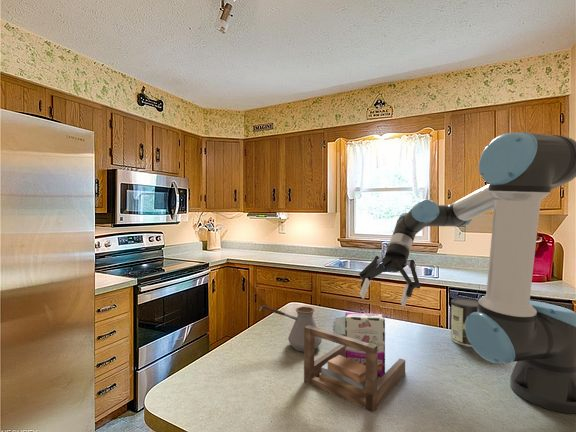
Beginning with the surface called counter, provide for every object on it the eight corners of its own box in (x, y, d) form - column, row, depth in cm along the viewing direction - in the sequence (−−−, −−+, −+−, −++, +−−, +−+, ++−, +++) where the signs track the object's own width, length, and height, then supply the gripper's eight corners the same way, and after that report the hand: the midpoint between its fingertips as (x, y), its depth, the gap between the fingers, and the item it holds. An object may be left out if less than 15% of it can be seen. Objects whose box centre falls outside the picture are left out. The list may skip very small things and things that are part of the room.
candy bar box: (382, 368, 92) (383, 313, 92) (385, 377, 87) (385, 319, 87) (344, 365, 94) (345, 311, 94) (344, 373, 89) (345, 316, 89)
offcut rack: (405, 374, 89) (406, 322, 89) (373, 412, 72) (373, 348, 72) (344, 353, 102) (344, 307, 102) (303, 381, 85) (304, 327, 85)
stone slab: (334, 341, 115) (361, 339, 114) (333, 334, 115) (360, 332, 114) (332, 321, 137) (355, 319, 136) (331, 314, 137) (354, 312, 136)
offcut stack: (377, 389, 81) (377, 366, 81) (366, 402, 76) (366, 377, 76) (331, 371, 90) (331, 351, 90) (318, 381, 85) (318, 359, 85)
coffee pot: (317, 338, 113) (317, 297, 113) (325, 353, 102) (326, 307, 101) (258, 342, 110) (258, 300, 110) (260, 357, 99) (260, 310, 98)
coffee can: (487, 341, 111) (488, 302, 111) (477, 350, 105) (478, 308, 104) (457, 333, 119) (457, 296, 119) (445, 340, 112) (446, 301, 112)
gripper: (438, 259, 105) (424, 314, 94) (369, 252, 121) (350, 299, 110) (434, 245, 101) (419, 301, 90) (363, 239, 117) (342, 287, 106)
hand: (381, 300), depth 100 cm, fingers open, 13 cm apart
